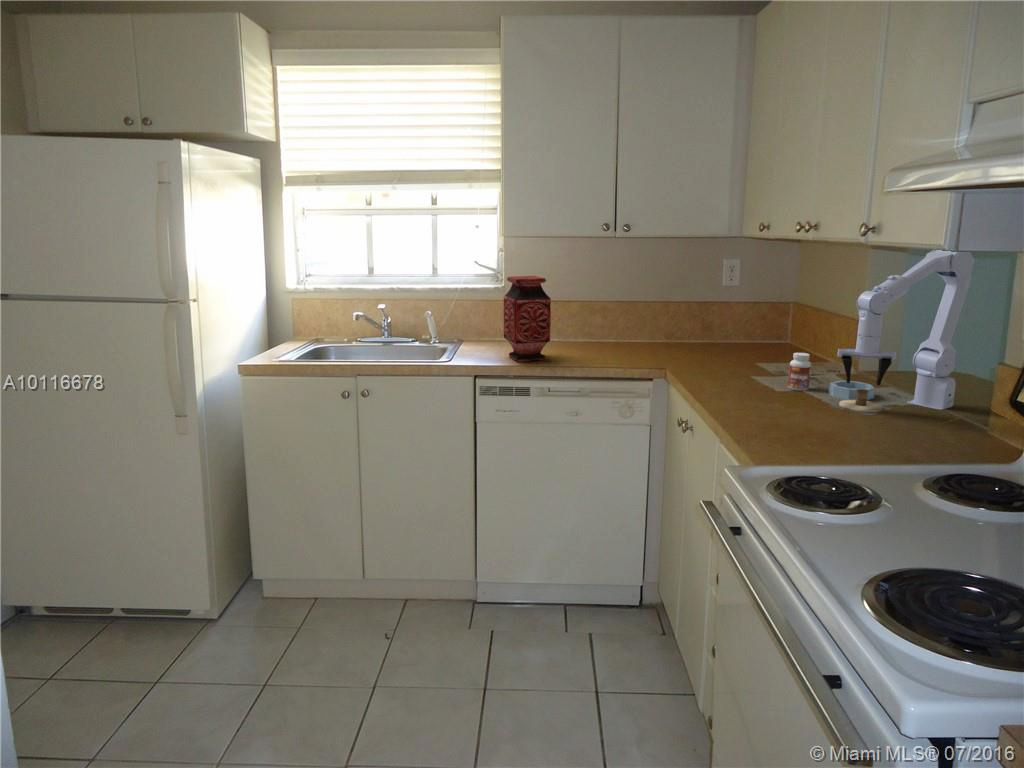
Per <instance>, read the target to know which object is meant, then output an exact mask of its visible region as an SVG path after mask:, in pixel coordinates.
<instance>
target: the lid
mask: <svg viewBox="0 0 1024 768" xmlns="http://www.w3.org/2000/svg"><path fill="white" fill-rule="evenodd" d="M867 395H868V390H865V389H857V394H856V400H846V399H842V400H840V401H839V406H840V407H841V408H843V409H846V410H845V411H847V410H850V411H849V412H851V411H855V412H865V413H875V412H880V411H882V407H883V405H881V404H880V403H877V402H874V401H871V400H870V401H869V400H867ZM855 412H854V413H855Z"/></svg>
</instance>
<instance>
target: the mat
mask: <svg viewBox="0 0 1024 768" xmlns="http://www.w3.org/2000/svg"><path fill="white" fill-rule="evenodd" d="M828 407H829V408H835V409H838V410H842V411H847V412H852V413H855V414H862V415H863V416H864V415H865V416H868V417H869V416H873V415H877V414H881V413H884V412H887V411H891V410H893V408H890V407H886V406H882V411H880V412H875V413H865V412H855V411H850V410H846V409H843V408H841V407H840V406H839V403H835V404H831V405H828Z"/></svg>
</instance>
